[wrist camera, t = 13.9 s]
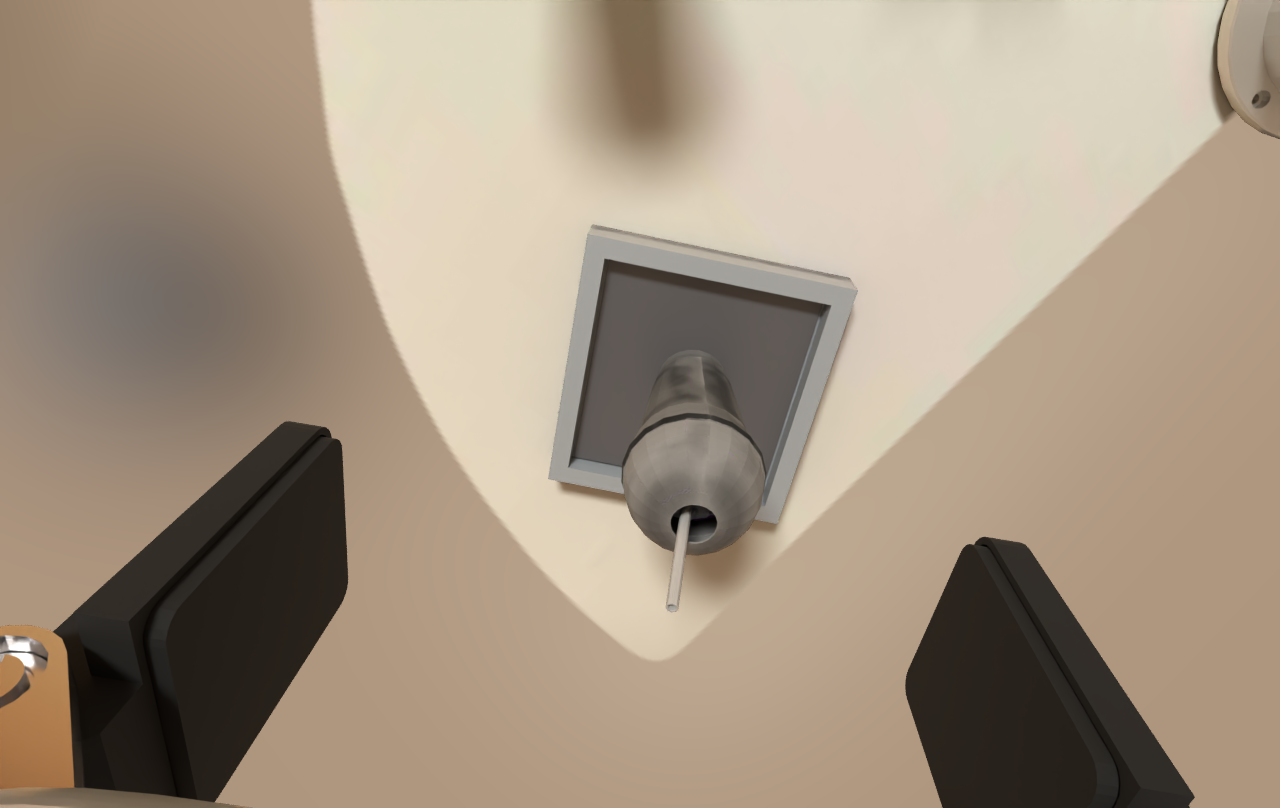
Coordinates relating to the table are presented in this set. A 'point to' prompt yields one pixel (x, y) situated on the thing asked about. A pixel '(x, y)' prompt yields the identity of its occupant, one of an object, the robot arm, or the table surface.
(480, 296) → the table surface
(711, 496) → the beverage cup
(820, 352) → the tray
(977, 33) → the table surface
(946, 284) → the table surface
